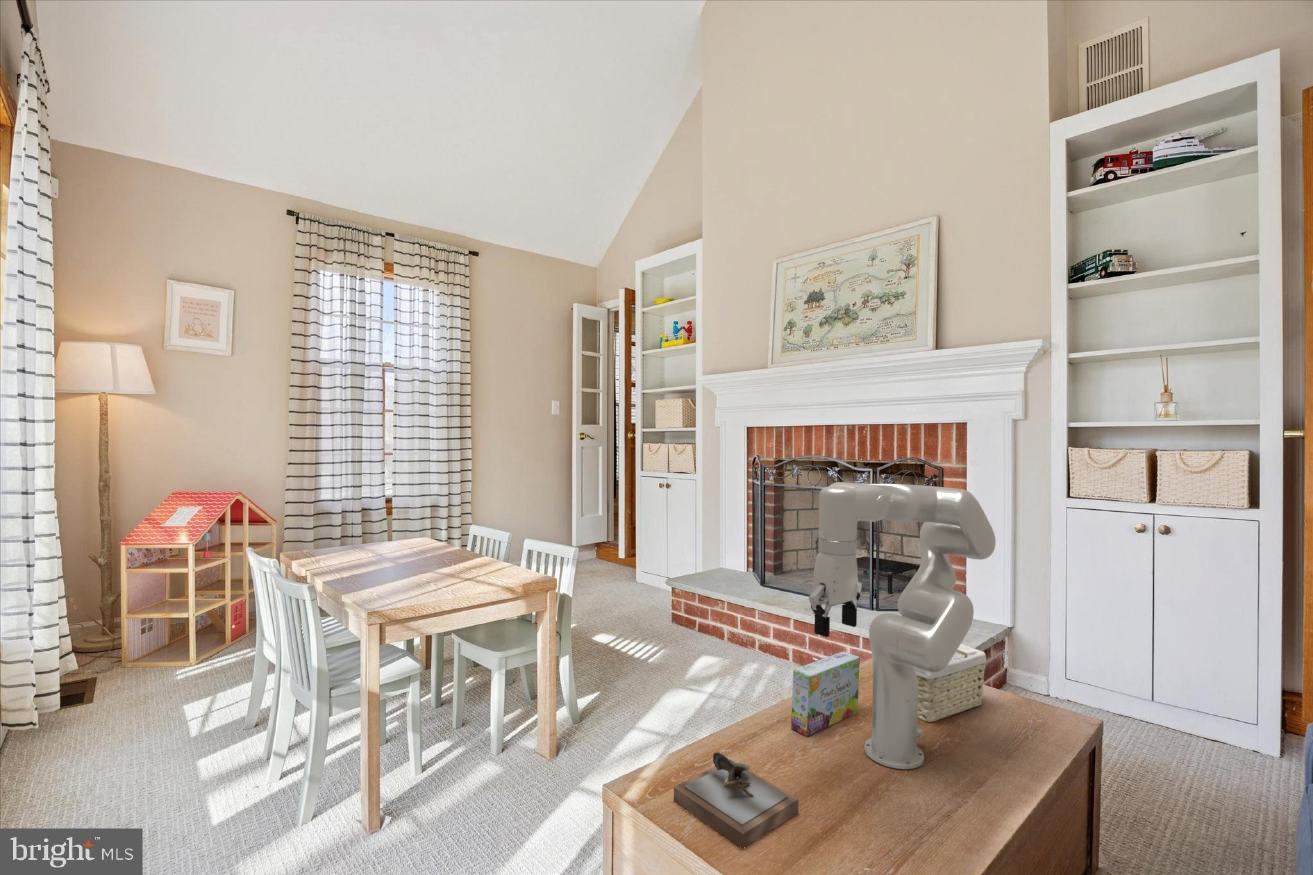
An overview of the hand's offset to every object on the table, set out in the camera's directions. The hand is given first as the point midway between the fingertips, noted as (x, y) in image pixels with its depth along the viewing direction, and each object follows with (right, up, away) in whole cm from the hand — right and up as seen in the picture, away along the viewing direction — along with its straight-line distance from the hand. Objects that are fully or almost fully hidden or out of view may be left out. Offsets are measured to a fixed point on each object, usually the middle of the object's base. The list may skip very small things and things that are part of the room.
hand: (835, 630), depth 127 cm
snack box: (+6, -32, +28) cm, 43 cm away
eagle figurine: (-24, -27, -5) cm, 37 cm away
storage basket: (+37, -32, +39) cm, 63 cm away
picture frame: (-22, -32, -7) cm, 39 cm away
